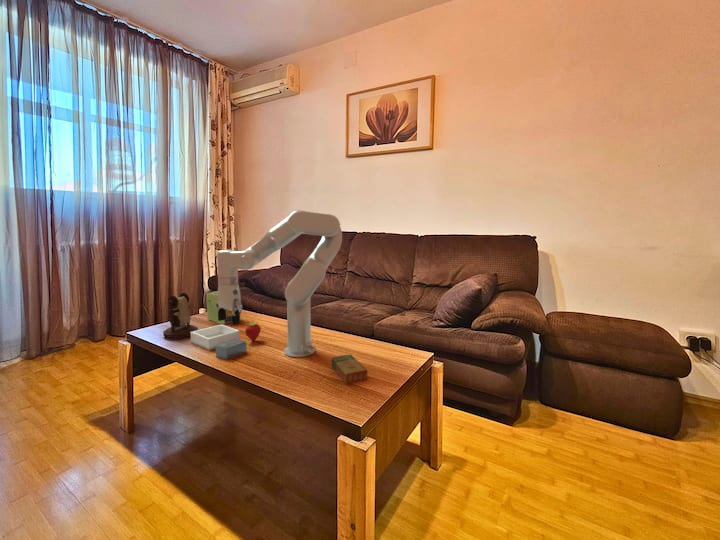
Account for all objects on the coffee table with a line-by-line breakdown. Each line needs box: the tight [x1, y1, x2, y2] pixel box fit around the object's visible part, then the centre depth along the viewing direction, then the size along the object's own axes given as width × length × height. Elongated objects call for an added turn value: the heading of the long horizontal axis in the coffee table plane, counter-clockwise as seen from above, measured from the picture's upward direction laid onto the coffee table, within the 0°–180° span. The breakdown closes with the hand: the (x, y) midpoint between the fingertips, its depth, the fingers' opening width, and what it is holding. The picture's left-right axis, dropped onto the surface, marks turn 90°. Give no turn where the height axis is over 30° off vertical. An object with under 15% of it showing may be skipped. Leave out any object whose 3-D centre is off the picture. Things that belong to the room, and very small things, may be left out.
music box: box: [163, 292, 199, 340], centre depth 164 cm, size 15×15×20 cm
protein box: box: [206, 290, 242, 325], centre depth 190 cm, size 10×15×16 cm
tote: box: [190, 323, 241, 351], centre depth 156 cm, size 15×15×5 cm
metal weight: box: [215, 338, 248, 361], centre depth 142 cm, size 6×10×5 cm, turn 150°
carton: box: [330, 354, 368, 385], centre depth 126 cm, size 8×16×4 cm, turn 23°
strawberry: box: [244, 320, 262, 342], centre depth 157 cm, size 6×8×10 cm
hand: (228, 322), depth 140 cm, fingers open, 9 cm apart
